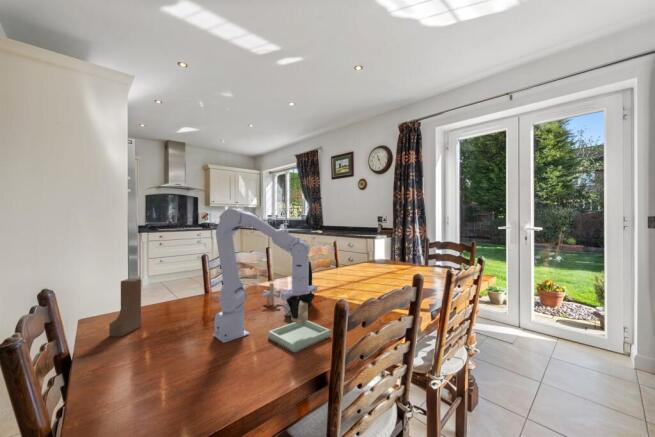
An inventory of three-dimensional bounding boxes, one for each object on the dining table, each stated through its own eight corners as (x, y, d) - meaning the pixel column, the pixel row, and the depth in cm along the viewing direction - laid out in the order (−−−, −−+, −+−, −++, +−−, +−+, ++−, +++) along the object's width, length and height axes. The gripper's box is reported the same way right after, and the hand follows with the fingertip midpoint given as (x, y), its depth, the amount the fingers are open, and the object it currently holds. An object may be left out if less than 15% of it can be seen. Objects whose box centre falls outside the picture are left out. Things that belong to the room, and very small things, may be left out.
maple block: (298, 323, 93) (298, 305, 92) (291, 320, 95) (291, 303, 95) (307, 320, 95) (307, 303, 95) (300, 317, 98) (300, 300, 98)
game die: (295, 323, 117) (309, 302, 120) (291, 323, 109) (306, 301, 112) (279, 310, 120) (292, 290, 122) (273, 310, 112) (288, 288, 114)
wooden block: (120, 337, 94) (120, 284, 94) (108, 336, 95) (108, 284, 94) (141, 326, 103) (141, 278, 103) (130, 326, 104) (130, 278, 103)
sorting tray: (294, 353, 85) (294, 345, 85) (268, 338, 94) (268, 331, 94) (330, 337, 96) (330, 329, 96) (304, 325, 106) (304, 318, 106)
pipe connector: (270, 309, 123) (270, 287, 123) (255, 305, 129) (256, 283, 129) (286, 304, 131) (286, 282, 131) (272, 299, 137) (272, 279, 137)
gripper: (290, 282, 87) (290, 325, 87) (323, 275, 97) (323, 313, 98) (277, 278, 92) (277, 319, 92) (310, 272, 102) (309, 308, 102)
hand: (299, 316), depth 95 cm, fingers closed on maple block, 4 cm apart
